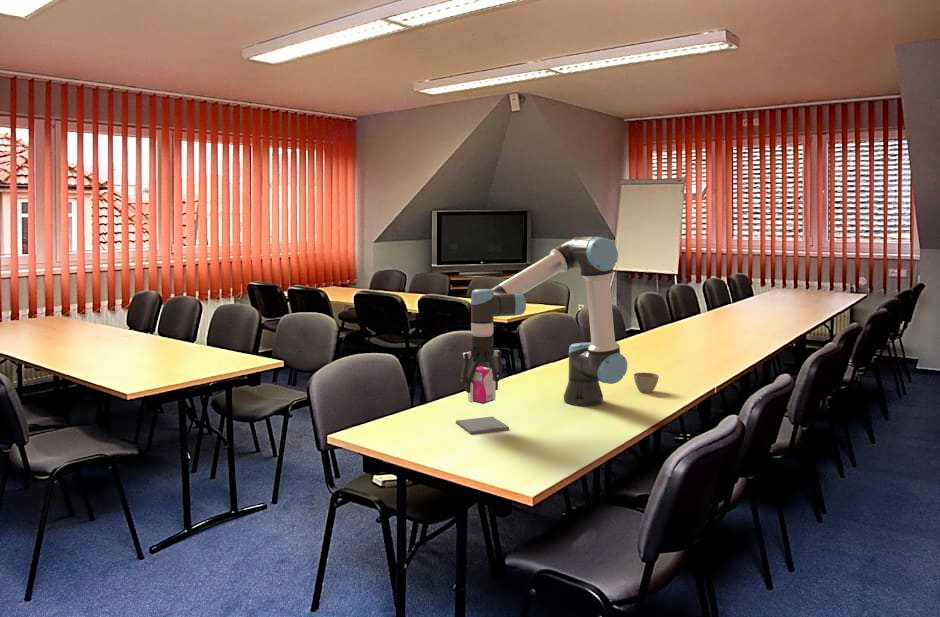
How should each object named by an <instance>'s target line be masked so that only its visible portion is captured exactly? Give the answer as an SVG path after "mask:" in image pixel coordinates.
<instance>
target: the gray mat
mask: <svg viewBox="0 0 940 617" xmlns="http://www.w3.org/2000/svg"><path fill="white" fill-rule="evenodd" d="M455 424H456V425H457V426H459V427H460V428H462V429H463V430H464V431H465V432H467V433H468V434H469V435H478V434H484V433H493V432H501V431H509V430H510V426H508V425H507V424H506V423H504V422H502V421H500V419H498V418H496V417H494V416H485V417H483V416H482V417H476V418H475V417H473V418H467V419H459V420H458V419H457V420H455Z"/></svg>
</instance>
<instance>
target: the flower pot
mask: <svg viewBox="0 0 940 617" xmlns="http://www.w3.org/2000/svg"><path fill="white" fill-rule="evenodd" d="M633 379H634V383H635V386H636V388H637V390H638V391H639V393H640V394H651V393H653V392H654V391H655V389H656V386H657V384H658V382H659V374H657V373H652V372H635V373H634V374H633Z"/></svg>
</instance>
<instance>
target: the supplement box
mask: <svg viewBox="0 0 940 617" xmlns="http://www.w3.org/2000/svg"><path fill="white" fill-rule="evenodd" d="M471 383H473V403H475V404H480V405H481V404H482V405H484V404H487V403H491V402H493V373H492V369H491V368H488V367H486V366H477V368H476V371H475V373H474V376H473V378H472V381H471Z"/></svg>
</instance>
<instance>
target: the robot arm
mask: <svg viewBox="0 0 940 617" xmlns="http://www.w3.org/2000/svg"><path fill="white" fill-rule="evenodd" d="M618 260H619V252H618V248H617V246H616V244H615V243H614V242H613V241H612V240H611V239H609V238H606V237H603V236H582V235H581V236H580V235H579V236H575V237H574V238H570V239H568V240H566V241H564V242H563V243H561V244H560V245H558V246H556V247H555V248H553V249H551V250H550V252H549V254H548V255H546V256H545V257H543V258H541V259H539V260H538V261H536V262H535V263H533V264H531V265H530V266H528V267H526V268H524V269H523V270H521V271H519V272H518V273H516V274H514V275H513V276H511V277H510V278H508V279H506V280H504V281H503V282H501V283H499V284H498V285H495V286H494V287H492V288H475V289H474V290H472V291H471V297H470V309H471V312H470V313H471V314H470V315H471V320H470V321H471V323H470V329H471V330H470V333H471V336H470V350H469V351H467V352H462V353H461V354H462V355H461V356H462V364H461V371H460V378H459V379H460V381H461V382H462V383H465V393H467V402H469V403H472V404H473V403H474V402H473V383H471V381H472V378H473V376H474V373H475V371H476V368H477V367H479V364H480V363H486V366H487V368H491V369H492V373H493V401H496V398H497V397H496V394H497V392H496V391H498V389H499V382H500V380H503V379H504V371H503V364H502V354H503V352H502V351H501V350H499V349H496V350H495V349H494V335H493V334H494V317H496V318H497V317H509V316H510V317H516V316H521V315H523V314H524V313H525V312H526V309H527V300H526V297H525V296H524V294H526V293H527V292H529V291H531V290H532V289H533V288H536V287H537V286H539V285H541V284H542V283H544V282H545V281H547V280H549V279H551V278H553V277H554V276H556V275H557V274H558V273H565V272H567V271H570V270H572V269H576V268H578V269H580V277H581V278H583V279H584V280H585V285H586V286H585V287H586V288H585V289H586V297H587V298H586V300H587V309H588V320H589V329H590V330H589V332H590V342H577V343H571V345H569V347H568V348H569V349H568V381H567V385H566V388H565V391H564V394H563V401H564V403H567V404H569V405H573V406H581V407H582V406H583V407H584V406H586V407H587V406H590V407H591V406H597V405H601V404H602V403H604V395H603V392H602V388H601V385H600V382H601V383H603V384H608V385H613V384H617V383H619V382H620V381H622V379H623V378H624V376H625V375H626V374H627V372H628V360H627V358H626V357H625V356H624V355H623V354H621V348H620V344H619V343H618V342H616V338H615V336H616V335H615V327H614V316H613V315H614V314H613V313H614V312H613V304H612V293H611V281H610V278H611V276H612V275H613V274H614V267H615V266H616V265H617V263H618ZM492 356H494V363H495V367H494V364H493V360H492ZM471 357H472V360H471V364H470V358H471ZM469 364H470V367H469ZM493 401H492V402H493Z"/></svg>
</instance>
